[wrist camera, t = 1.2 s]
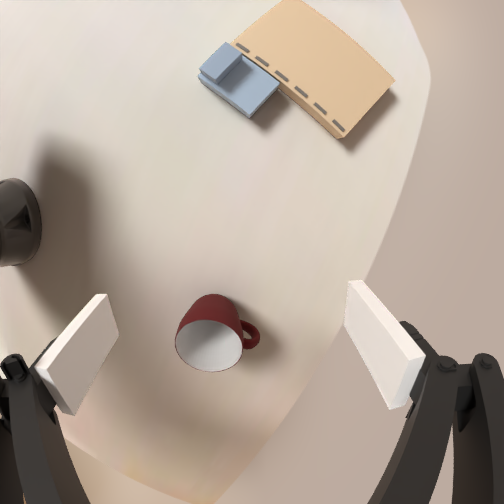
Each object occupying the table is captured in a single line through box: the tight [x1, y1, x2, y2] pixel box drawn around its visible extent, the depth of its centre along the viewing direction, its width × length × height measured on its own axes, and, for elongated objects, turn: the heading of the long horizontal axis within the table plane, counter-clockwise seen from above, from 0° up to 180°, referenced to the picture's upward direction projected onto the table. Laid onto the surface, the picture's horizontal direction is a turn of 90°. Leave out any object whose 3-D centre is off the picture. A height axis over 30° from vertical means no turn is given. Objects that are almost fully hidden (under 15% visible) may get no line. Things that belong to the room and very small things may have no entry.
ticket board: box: [230, 0, 395, 139], centre depth 28 cm, size 18×12×3 cm, turn 50°
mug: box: [175, 294, 260, 372], centre depth 35 cm, size 10×8×10 cm
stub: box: [198, 42, 280, 118], centre depth 28 cm, size 8×5×5 cm
